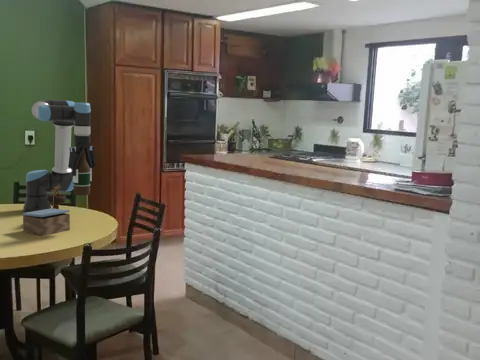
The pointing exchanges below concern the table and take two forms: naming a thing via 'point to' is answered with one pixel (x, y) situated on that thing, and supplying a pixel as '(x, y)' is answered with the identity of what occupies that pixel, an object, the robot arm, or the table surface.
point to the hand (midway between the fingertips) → (82, 181)
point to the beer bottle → (83, 177)
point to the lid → (46, 212)
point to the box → (46, 224)
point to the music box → (56, 197)
